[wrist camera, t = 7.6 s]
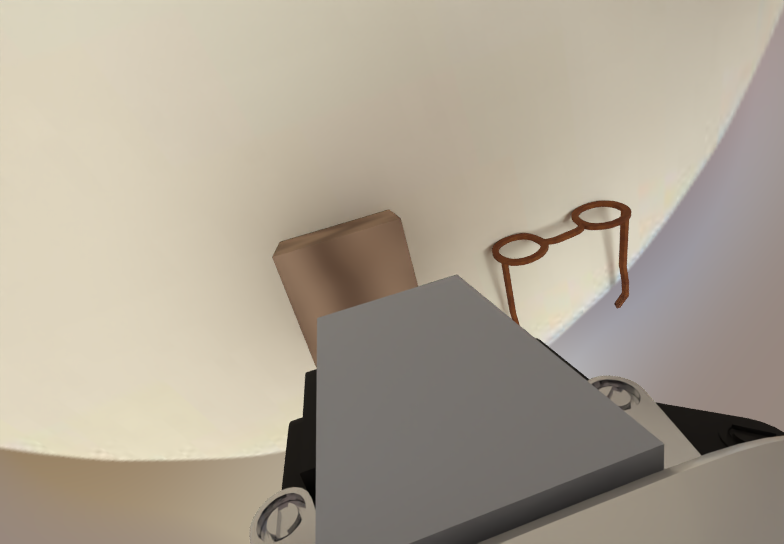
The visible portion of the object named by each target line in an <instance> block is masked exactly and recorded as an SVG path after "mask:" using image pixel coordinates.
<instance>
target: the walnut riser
mask: <svg viewBox="0 0 784 544" xmlns="http://www.w3.org/2000/svg"><path fill="white" fill-rule="evenodd" d="M273 260H274V263H275V265H276V268H277V270H278V273H279V275H280V278H281V280H282V283H283V285H284V288H285V290H286V293H287V295H288V298H289V300H290V303H291V305H292V308H293V310H294V313H295V315H296V318H297V320H298V323H299V325H300V328H301V330H302V333H303V335H304V338H305V340H306V343H307V345H308V348H309V350H310V353H311V355H312V358H313V360H314V363H315V366H316V367H317V318H319V317H322V316H325V315H329V314H332V313H335V312H338V311H341V310H345V309H348V308H351V307H354V306H357V305H361V304H364V303H367V302H370V301H373V300H377V299H380V298H383V297H386V296H389V295H393V294H396V293H399V292H402V291H405V290H409V289H412V288H415V287H418V285H417V281H416V277H415V273H414V269H413V265H412V261H411V257H410V254H409V250H408V246H407V242H406V238H405V234H404V230H403V226H402V222H401V219H400V218H399V217H398V216H397V215H395V214H394V213H393V212H392V211H390V210H386V211H382V212H379V213H376V214H372V215H369V216H366V217H362V218H359V219H356V220H352V221H349V222H346V223H342V224H339V225H335V226H332V227H329V228H325V229H322V230H319V231H315V232H312V233H309V234H305V235H302V236H299V237H295V238H292V239H288V240H285V241H282V242H280V243H279V245H278V247H277V249H276V251H275V253H274V255H273Z"/></svg>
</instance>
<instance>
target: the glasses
mask: <svg viewBox="0 0 784 544" xmlns="http://www.w3.org/2000/svg"><path fill="white" fill-rule="evenodd" d="M595 207H612V208H616V209H618V210H620V211H621V217H619V218H617V219H615V220H613V221H609V222H605V223H589V222H586V221H584V220H582V219H580V218H579V215H580V214H581V213H582V212H584V211H586V210H588V209H591V208H595ZM630 217H631V209H630V208H629V207H628V206H627V205H625V204H622V203H619V202H615V201H596V202H591V203H587V204H584V205H582V206H580V207H578V208H576V209H575V210H574V211H573V212H572V220H573V222H574V223H575V224H577V225H578V227H576V228H575V229H572V230H570V231H568V232H565V233H563V234H560V235H558V236H556V237H553V238H549V239H543V238H541V237H539V236H537V235H533V234H529V233H520V234H515V235H511V236H508V237H505V238H503V239H501V240H500V241H498V242H497V243H496V244H495V245H494V246H493V248H492V253H493V256H494V258H495V259H496V260H497V261H498V262H500V263H501V264H502V270H503V276H504V282H505V287H506V293H507V299H508V305H509V310H510V314H511V317H512V320H513V321H515V322H516V323H517V324H518V325H519V322H518V318H517V315H516V310H515V304H514V297H513V291H512V285H511V279H510V273H509V266H508V265H510V266H519V265H525V264H529V263H531V262H534V261H536V260H538V259H540V258H541V257H543V256H544V255H545V254H546V252H547V251H548V248H549V245H550V244H556V243H560V242H562V241H564V240H567V239H569V238H572V237H574V236H576V235H578V234H580V233H582V232H583V231H584V229H587V230H602V229H609V228H613V227H616V226H619V225H620V250H619V268H620V274H621V281H622V293H621V295H620V296H619V298H618V299H617V300H616V302H615V303H614V305H615V306H616V308H620V307H621V306H622V304H623V303H624V302H625V300H626V299H627V298H628V296H629V279H628V272H627V249H628V230H629V219H630ZM523 239H525V240H531V241H534V242H536V243H538V244H539V245H540V246H541V247H540V249H539V250H538V251H537V252H536V253H534V254H532V255H530V256H527V257H524V258H519V259H510V258H506V257H504V256H502V255H501V254H500V253H499V249H500V248H501V247H502V246H504V245H505V244H507V243H509V242H512V241H516V240H523ZM519 326H520V325H519Z"/></svg>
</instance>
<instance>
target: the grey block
mask: <svg viewBox="0 0 784 544" xmlns="http://www.w3.org/2000/svg"><path fill="white" fill-rule="evenodd" d="M662 470H664V443H663V442H661V441H660V440H659V439H658V438H657V437H655V436H654V435H653V434H652V433H650V432H649V431H648V430H647V429H646V428H644V427H643V426H642V425H641V424H639V423H638V422H637V421H636V420H635V419H633V418H632V417H631V416H630V415H628V414H627V413H626V412H625V411H623V410H622V409H621V408H620V407H619V406H617V405H616V404H615V403H614V402H612V401H611V400H610V399H609V398H608V397H606V396H605V395H604V394H603V393H601V392H600V391H599V390H598V389H597V388H595V387H594V386H593V385H592V384H590V383H589V382H588V381H587V380H586V379H584V378H583V377H582V376H581V375H579V374H578V373H577V372H576V371H575V370H573V369H572V368H571V367H570V366H568V365H567V364H566V363H565V362H563V361H562V360H561V359H560V358H559V357H557V356H556V355H555V354H554V353H552V352H551V351H550V350H549V349H548V348H546V347H545V346H544V345H543V344H541V343H540V342H539V341H538V340H537V339H535V338H534V337H533V336H532V335H530V334H529V333H528V332H527V331H526V330H524V329H523V328H522V327H521V326H519V325H518V324H517V323H516V322H515V321H513V320H512V319H511V318H510V317H508V316H507V315H506V314H505V313H503V312H502V311H501V310H500V309H499V308H497V307H496V306H495V305H494V304H492V303H491V302H490V301H489V300H488V299H486V298H485V297H484V296H483V295H481V294H480V293H479V292H478V291H477V290H475V289H474V288H473V287H472V286H470V285H469V284H468V283H467V282H466V281H464V280H463V279H462V278H461V277H459V276H458V275H454V276H450V277H447V278H444V279H441V280H438V281H434V282H431V283H428V284H425V285H421V286H418V287H415V288H412V289H409V290H405V291H402V292H399V293H396V294H393V295H389V296H386V297H383V298H380V299H377V300H373V301H370V302H367V303H364V304H361V305H357V306H354V307H351V308H348V309H345V310H341V311H338V312H335V313H332V314H329V315H325V316H322V317H319V318H317V400H316V527H315V544H477V543H479V542H482V541H484V540H487V539H489V538H492V537H494V536H497V535H499V534H502V533H504V532H507V531H509V530H512V529H514V528H517V527H519V526H522V525H524V524H527V523H529V522H532V521H534V520H537V519H539V518H542V517H544V516H547V515H549V514H552V513H554V512H557V511H559V510H562V509H564V508H567V507H569V506H572V505H575V504H577V503H580V502H582V501H585V500H587V499H590V498H592V497H595V496H597V495H600V494H603V493H605V492H608V491H610V490H613V489H615V488H618V487H620V486H623V485H626V484H628V483H631V482H633V481H636V480H638V479H641V478H643V477H646V476H648V475H651V474H654V473H656V472H659V471H662Z"/></svg>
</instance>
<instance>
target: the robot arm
mask: <svg viewBox="0 0 784 544" xmlns="http://www.w3.org/2000/svg"><path fill="white" fill-rule="evenodd" d="M535 339H537V338H535ZM537 340H538V341H539V342H540V343H541V344H543V345H544V346H545V347H546V348H548V349H549V350H550V351H551V352H552V353H554V354H555V355H556V356H557V357H559V358H560V359H561V360H562V361H563V362H565V363H566V364H567V365H568V366H570V367H571V368H572V369H573V370H575V371H576V372H577V373H578V374H579V375H581V376H582V377H583V378H584V379H586V380H587V381H588V382H589V383H590V384H592V385H593V386H594V387H595V388H597V389H598V390H599V391H600V392H601V393H603V394H604V395H605V396H606V397H608V398H609V399H610V400H611V401H612V402H614V403H615V404H616V405H617V406H619V407H620V408H621V409H622V410H623V411H625V412H626V413H627V414H628V415H630V416H631V417H632V418H633V419H635V420H636V421H637V422H638V423H639V424H641V425H642V426H643V427H644V428H646V429H647V430H648V431H649V432H650V433H652V434H653V435H654V436H655V437H657V438H658V439H659V440H660V441H661V442H663V443H664V470H662V471H659V472H656V473H654V474H651V475H648V476H646V477H643V478H641V479H638V480H636V481H633V482H631V483H628V484H626V485H623V486H620V487H618V488H615V489H613V490H610V491H608V492H605V493H603V494H600V495H597V496H595V497H592V498H590V499H587V500H585V501H582V502H580V503H577V504H575V505H572V506H569V507H567V508H564V509H562V510H559V511H557V512H554V513H552V514H549V515H547V516H544V517H542V518H539V519H537V520H534V521H532V522H529V523H527V524H524V525H522V526H519V527H517V528H514V529H512V530H509V531H507V532H504V533H502V534H499V535H497V536H494V537H492V538H489V539H487V540H484V541H482V542H479V543H477V544H784V432H782V431H780V430H779V429H777V428H775V427H773V426H770V425H768V424H766V423H763V422H760V421H756V420H752V419H748V418H743V417H737V416H731V415H725V414H719V413H714V412H708V411H702V410H696V409H690V408H685V407H679V406H672V405H667V404H661V403H655V402H654V400H653V399H652V398H651V397H650V396H649V395H648V393H647V392H646V391H645V390H644V389H643V388H642V387H641V386H639V385H638V384H637V383H635V382H633V381H631V380H628V379H625V378H621V377H616V376H598V377H594V378H591V379H590V380H589V379H588V378H587V377H586V376H584V375H583V374H582V373H581V372H579V371H578V370H577V369H576V368H574V367H573V366H572V365H571V364H569V363H568V362H567V361H565V360H564V359H563V358H562V357H561V356H559V355H558V354H557V353H556V352H554V351H553V350H552V349H551V348H549V347H548V346H547V345H546V344H545V343H543V342H542V341H541V340H539V339H537ZM316 400H317V369H316V370H313V371H310V372H307V373H306V374H305V389H304V406H303V417H302V418H299V419H296V420H293V421H291V422H290V423H289V429H288V438H287V447H286V456H285V465H284V474H283V483H282V491H280V492H277V493H276V494H274V495H273V496H272V497H270V498H269V499H267V500H266V501H265V503H264V504H263V505H262V506H261V507H260V508H259V510H258V511H257V513H256V514H255V516H254V517H253V520H252V523H251V526H250V543H251V544H315V527H316Z"/></svg>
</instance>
